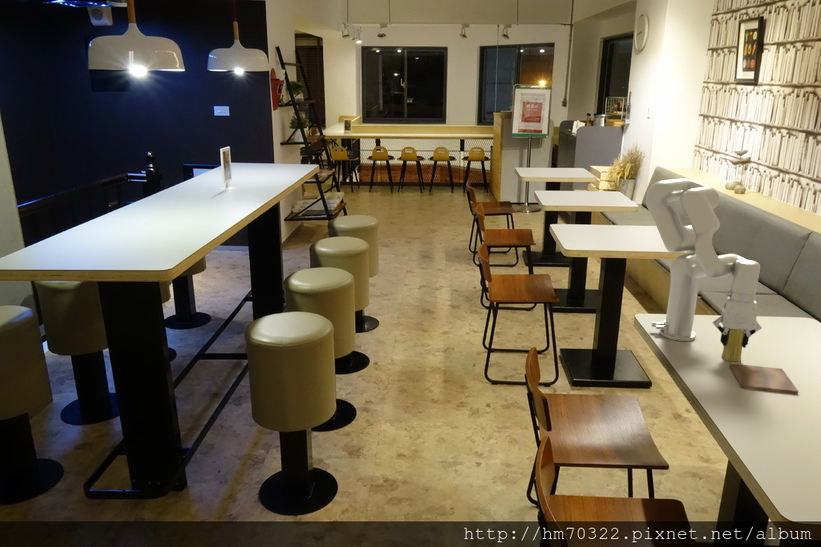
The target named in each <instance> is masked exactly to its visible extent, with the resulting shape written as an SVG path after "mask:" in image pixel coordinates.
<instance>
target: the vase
mask: <svg viewBox="0 0 821 547" xmlns="http://www.w3.org/2000/svg"><path fill="white" fill-rule="evenodd" d="M744 333H745V330H739V329H729V330H728V332H727V342H726V346H723V349H722V354H721V358H722V359H724V360H726V361H729V362H734V363H735V362H736V363H737V362H740V361H741V359H742V352H743V347H742V345H743V338H744Z"/></svg>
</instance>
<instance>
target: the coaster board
mask: <svg viewBox="0 0 821 547" xmlns="http://www.w3.org/2000/svg"><path fill="white" fill-rule="evenodd" d="M729 368H730V369H731V372H732V373H733V375H734V376H735V378H736V380H737V382H738V384H739V385H740V388H741V389H747V390H757V391H764V392H775V393H783V394H785V393H786V394H793V395H798V394H799V390H798V388H797V387H796V386H795V384H794V383H793V382H792V380H791V379H790V378H789V376H788V375H787V373H786V372H785V371H784V369H783V368H779V367H768V366H760V365H749V364H741V363H739V364H738V363H730V362H729Z"/></svg>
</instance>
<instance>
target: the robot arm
mask: <svg viewBox="0 0 821 547" xmlns="http://www.w3.org/2000/svg"><path fill="white" fill-rule="evenodd" d="M676 202H680V205H681V207H682V209H683V211H684V213H685V216H686V217H687V219H688V222H689V223H690V225H684V224H683V223H682V221H681V217H680V215H679V213H678V212H677V211H676V210H675V209H674V208H673V207H672V206H671V204H670V203H676ZM645 204H646V207H647V209H648V212H649V214H650V216H651V217H652V220H653V221H654V223H655V226H656V228H657V230H658V233H659V235H660V238H661V241H662V243H663V245H664V247H665V249H666V250H667V251H668V252H669V253H672V254H673V253H674V254H677V253H678V254H679V253H684V252H687V253H686V254H685V253H684V254H681V255H678V256H676V257H675V258H674V259H673V260H672V261H671V263H670V266H669V270H670V271H669V272H670V273H669V274H670V287H669V294H668V302H667V309H666V315H665V319H663V321H660V322H657V321H651V327H652V328H653V327H654V328H655V329H656V330H659V334H660V335H661V336H662V337H664V338H667V339H669V340H673V341H678V342H689V341H690V342H691V341H693V340H695V339H696V333H695V331H693V325H694V320H695V319H694V318H695V314H696V313H695V312H696V306H697V301H698V300H697V299H698V292H699V291H698V289H699V288H698V285H697V282H696V280H697V279H702V278H706V277H709V278H711V279H721V278H725V277H732V280H731V287H730V289H729V291H725V296H726V299H725V302H724V305H723V308H722V311H721V316H719V317H718V318H717V319H714V320H713V322H712V324H713V325H714V326H715V327H716V329H717V330H718V331H719V332H720V333H721V336H720V340H719V341H720V343H721V345H722V346H723V347H724V346H726V342H727V332H728V330H729V329H739V330H745V332H744V338H743V345H742V349H743V348H744V349H746V348H747V346H748V345H749V338H751V336H752V335H754V334H755V333H756V332H758V331H760V330H762V326H761V324H759V322H758V320H757V314H758V302H757V300H755V298H756V295H757V294H756V293H757V288H758V282H759V276H760V273H761V272H760V271H761V264H760V263H759V262H758V261H756V260H752V259H746V258H744V257H742V256H740V255H738V254H736V253H728V254H719V255H717V252H716V251H715V249H714V245H713V236H714V234H715V233H716V232H717V231H718V229H719V228H720V227H721V223H720V220H719V218H718V216H717V215H716V213H715V211H714V209H715V208H717V207H718V205H719V204H720V195H719V192H718V191H717V190H716V189H715V188H714V187H712V186H710V185H707V184H704V183H701V182H698V181H695V180H693V179H688V178H674V179H664V180H660V181H655V182H654V183H653V184H651V185H650V186H649V188H648V189H647V192H646V196H645ZM721 324H722V325H721Z"/></svg>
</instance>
